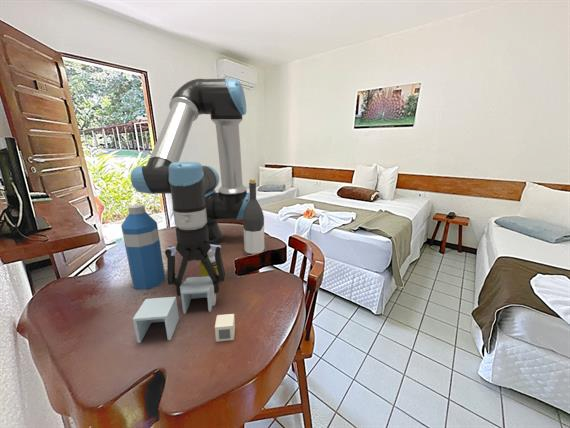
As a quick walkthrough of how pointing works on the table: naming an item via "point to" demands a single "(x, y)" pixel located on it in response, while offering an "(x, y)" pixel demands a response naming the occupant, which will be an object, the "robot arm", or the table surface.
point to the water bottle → (143, 248)
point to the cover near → (156, 316)
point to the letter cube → (225, 327)
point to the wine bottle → (253, 223)
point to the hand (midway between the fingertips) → (199, 303)
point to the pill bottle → (212, 259)
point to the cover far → (196, 291)
